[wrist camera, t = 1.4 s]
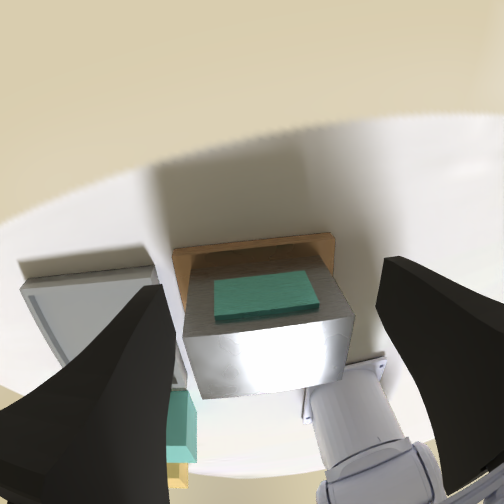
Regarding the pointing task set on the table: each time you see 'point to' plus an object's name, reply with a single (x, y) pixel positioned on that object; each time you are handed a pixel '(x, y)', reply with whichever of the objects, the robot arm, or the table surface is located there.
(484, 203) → the table surface
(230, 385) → the silver unit
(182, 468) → the ochre block
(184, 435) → the teal block
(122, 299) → the slate tray
